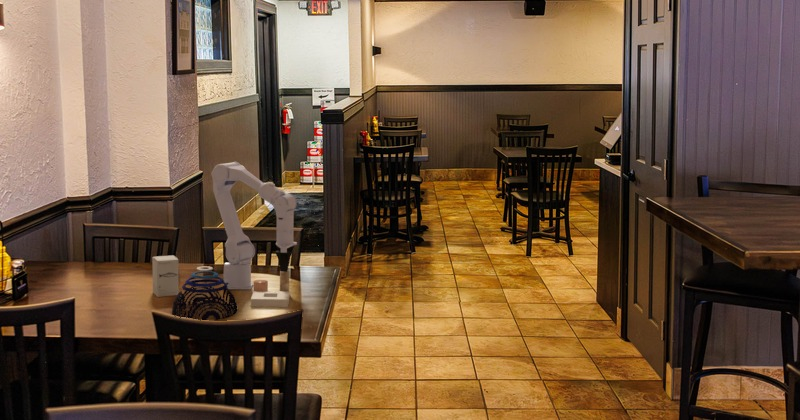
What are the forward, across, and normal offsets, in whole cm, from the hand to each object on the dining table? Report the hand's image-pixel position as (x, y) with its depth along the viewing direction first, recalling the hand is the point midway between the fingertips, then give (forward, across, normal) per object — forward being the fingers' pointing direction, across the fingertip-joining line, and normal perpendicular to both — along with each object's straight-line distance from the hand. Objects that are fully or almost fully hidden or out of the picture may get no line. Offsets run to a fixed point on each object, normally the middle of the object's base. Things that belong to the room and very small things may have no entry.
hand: (284, 268), depth 296 cm
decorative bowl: (+9, -22, +24) cm, 34 cm away
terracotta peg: (+9, -2, +8) cm, 12 cm away
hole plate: (+9, -10, +4) cm, 14 cm away
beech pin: (+9, 0, 0) cm, 9 cm away
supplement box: (+9, -1, +40) cm, 41 cm away
